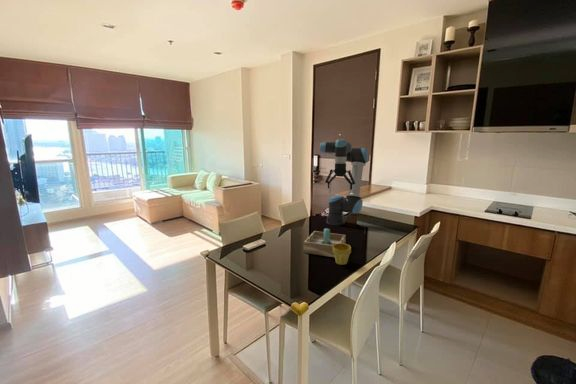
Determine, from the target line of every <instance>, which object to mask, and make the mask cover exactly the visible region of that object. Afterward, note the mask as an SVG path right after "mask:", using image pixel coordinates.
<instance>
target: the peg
mask: <svg viewBox="0 0 576 384" xmlns="http://www.w3.org/2000/svg"><path fill="white" fill-rule="evenodd" d="M323 232H324V243H323V244H329V245H330V233H331V229H330V228H324V229H323Z"/></svg>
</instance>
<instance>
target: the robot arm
mask: <svg viewBox="0 0 576 384" xmlns="http://www.w3.org/2000/svg"><path fill="white" fill-rule="evenodd" d="M319 151H320V153H322V154H325V153H326V154H330V155H332V156H334V169H329V173H328V175H327V177H326V179H325V181H324V182H325V184H327V189H328V193H329V194H331V193H332V183H331V182H332V181H334V179H336V177H340V178H342V177H343V178H344V179H345V180H346V181H347V183H349V185H348V194H347V195H346V196H345V197H344V195H342V194H337V195H336V194H335V195H332V196H330V197H329V198H328V215H327V218H326V224H327V225H331V226H336V227H337V226H343V225H345V221H346V220H345V218H344V213H348V214H349V213H350V214H359V213H360V212H361V211H362V208H363V202H364V201H363V199H362V196H361V195H360V194H361V193H360V192H361V185H362V178H363V171H364V167H366V163H369V151H368V149H367V148H366V147H353V145H352V144H351V142H348V141H347V139H336V140H335V141H333V142H332V141H331V142H330V141H329V142H328V141H324V142H323V141H322V142H320V144H319ZM347 163H350V164H351V165H352V167H351V169H350V170H347ZM333 173H334V174H333ZM332 174H333V176H332ZM347 174H348V175H349V176H348V175H347Z"/></svg>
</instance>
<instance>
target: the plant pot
mask: <svg viewBox="0 0 576 384" xmlns="http://www.w3.org/2000/svg"><path fill="white" fill-rule="evenodd" d="M333 253H334V256H335V257H334V259H335V261H334V262H335V263H336V264H337V265H340V266H342V265H344V266H345V265H347V264H348V262H349V257H350V254H351V253H352V247H351V245H350V244H347V243H345V244H343V243H338V244H334V245H333Z"/></svg>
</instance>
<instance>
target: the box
mask: <svg viewBox="0 0 576 384" xmlns="http://www.w3.org/2000/svg"><path fill="white" fill-rule="evenodd" d="M346 236H347V235H346V234H342V233H341V234H340V233H332V232H330V245H329V244H323V243H324V231H319V230H318V231H317V230H314V231H313V232H311V234H310V235H308V236H307V238H306V239H305V240H304V241H303V253H306V254H311V255H317V256H324V257H330V258H335V256H334V253H333V245H334V244H338V243H343V244H346V241H347V240H346Z"/></svg>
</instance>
